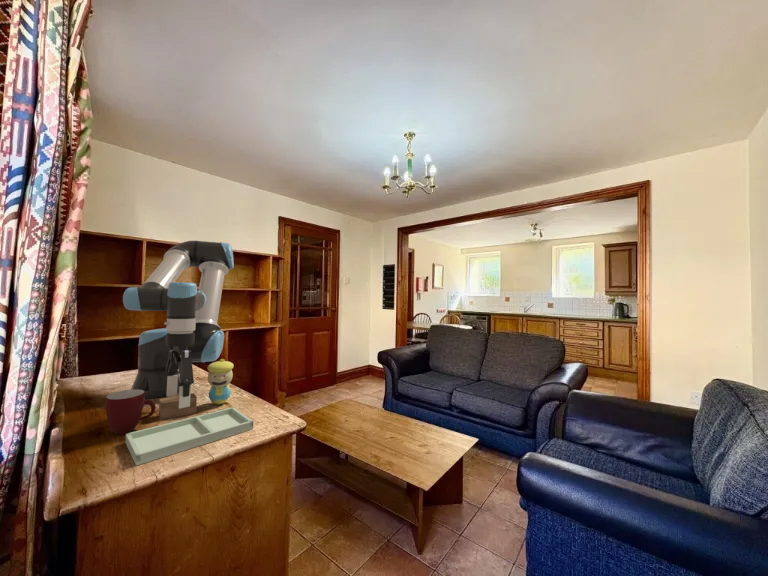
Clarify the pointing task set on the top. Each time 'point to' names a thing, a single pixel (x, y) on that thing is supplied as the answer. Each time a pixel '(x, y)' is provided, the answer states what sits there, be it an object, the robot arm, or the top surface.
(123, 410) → the mug
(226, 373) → the toy
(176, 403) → the brown rectangular block
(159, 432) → the jig
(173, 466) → the top surface
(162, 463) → the top surface
